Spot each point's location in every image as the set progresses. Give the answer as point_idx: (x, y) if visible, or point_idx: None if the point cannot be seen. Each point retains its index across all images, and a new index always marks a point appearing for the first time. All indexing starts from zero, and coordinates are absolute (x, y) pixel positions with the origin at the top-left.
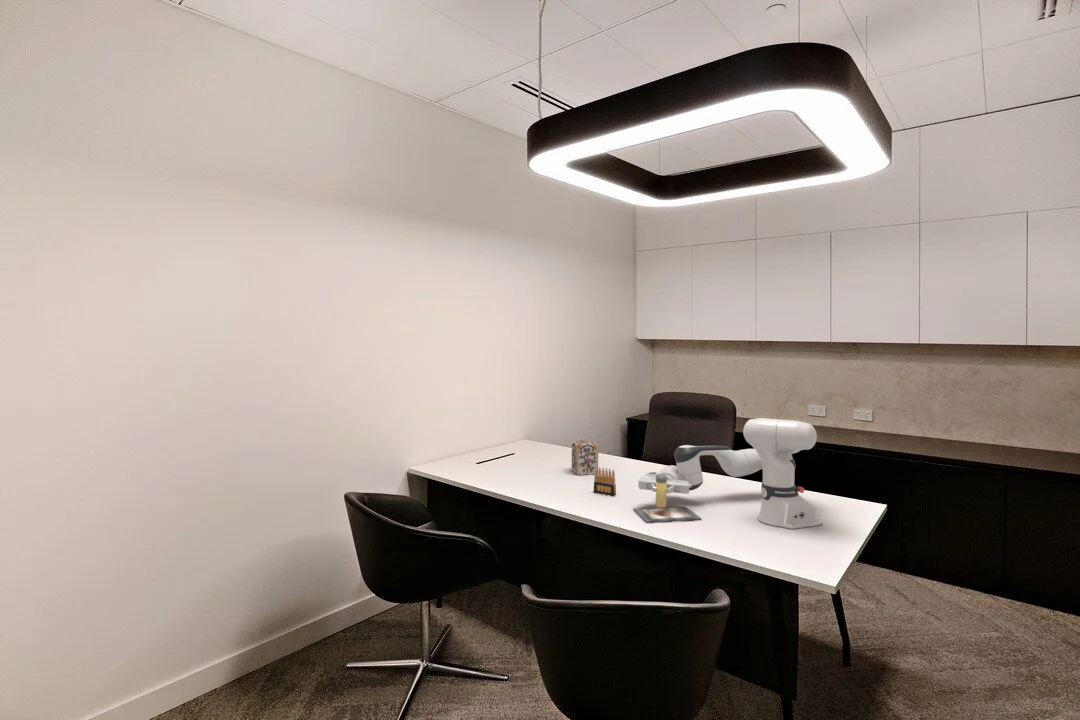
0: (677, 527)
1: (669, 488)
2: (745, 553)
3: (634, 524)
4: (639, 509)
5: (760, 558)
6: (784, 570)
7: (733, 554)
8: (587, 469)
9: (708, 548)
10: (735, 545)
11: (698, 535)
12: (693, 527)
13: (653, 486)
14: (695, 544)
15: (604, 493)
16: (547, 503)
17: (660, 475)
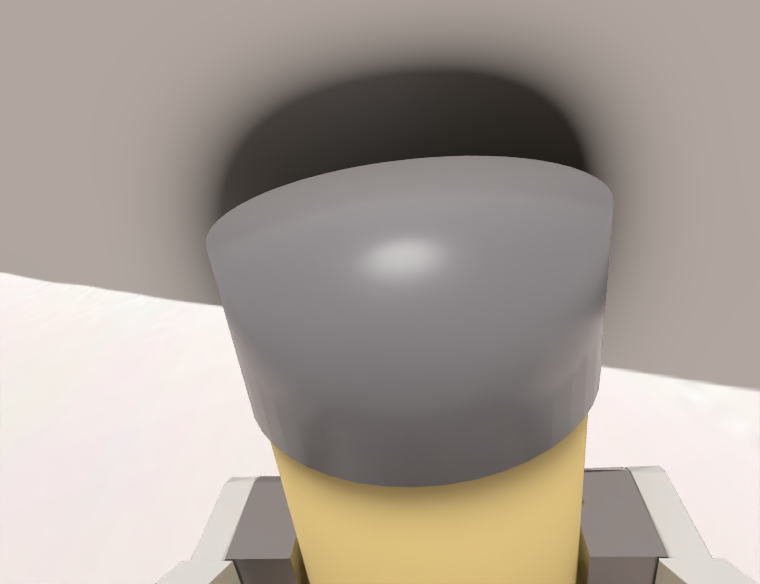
0: (274, 471)
1: (228, 497)
2: (42, 319)
3: (608, 422)
4: None
5: (14, 308)
6: (3, 278)
7: (98, 303)
8: None
9: (176, 310)
10: (28, 360)
11: (164, 400)
12: (139, 512)
13: (668, 518)
14: (220, 320)
15: None
16: None
17: (446, 220)
